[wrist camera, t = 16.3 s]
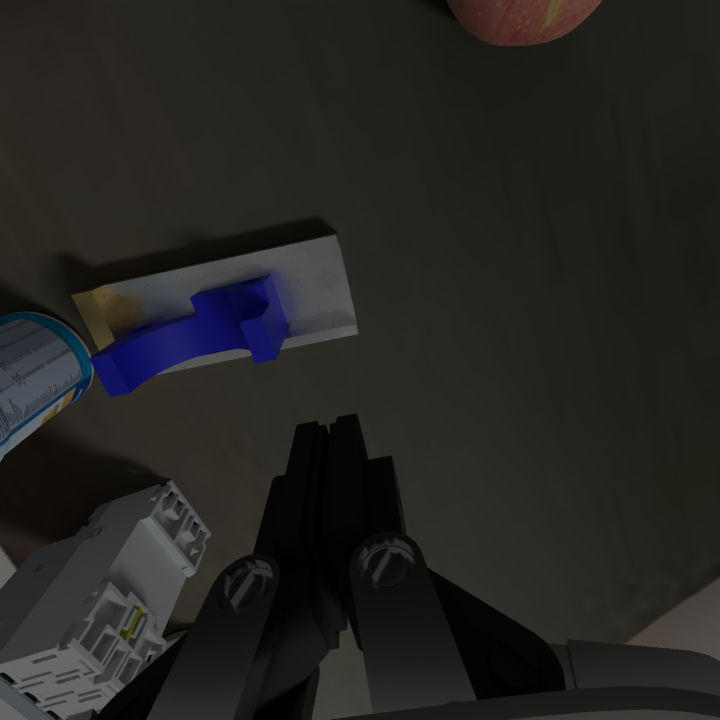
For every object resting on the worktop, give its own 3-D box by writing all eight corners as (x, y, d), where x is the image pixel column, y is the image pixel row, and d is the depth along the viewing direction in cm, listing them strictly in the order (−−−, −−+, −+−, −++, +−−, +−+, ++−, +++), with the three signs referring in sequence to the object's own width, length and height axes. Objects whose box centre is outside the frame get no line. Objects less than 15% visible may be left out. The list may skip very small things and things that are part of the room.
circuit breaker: (47, 523, 41) (-107, 696, 27) (171, 479, 39) (73, 642, 25) (93, 572, 44) (-25, 751, 30) (211, 533, 42) (142, 706, 28)
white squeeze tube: (358, 327, 33) (358, 341, 30) (137, 372, 34) (118, 389, 32) (336, 232, 30) (335, 237, 27) (95, 285, 31) (70, 295, 29)
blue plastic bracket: (271, 274, 31) (253, 294, 25) (289, 328, 33) (276, 358, 27) (124, 310, 32) (77, 337, 26) (149, 361, 34) (110, 397, 28)
